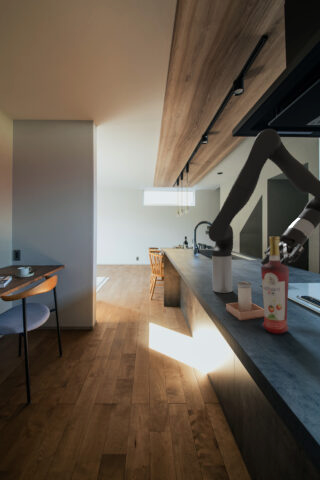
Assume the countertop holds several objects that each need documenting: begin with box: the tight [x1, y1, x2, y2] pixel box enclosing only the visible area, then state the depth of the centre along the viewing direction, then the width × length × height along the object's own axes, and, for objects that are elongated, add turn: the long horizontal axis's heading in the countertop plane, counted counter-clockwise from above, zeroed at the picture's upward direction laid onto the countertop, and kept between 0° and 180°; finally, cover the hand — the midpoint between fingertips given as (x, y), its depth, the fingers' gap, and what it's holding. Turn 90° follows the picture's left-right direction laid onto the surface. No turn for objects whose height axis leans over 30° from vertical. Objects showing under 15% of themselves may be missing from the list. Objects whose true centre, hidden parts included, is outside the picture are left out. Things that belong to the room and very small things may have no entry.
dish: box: [225, 301, 264, 321], centre depth 81 cm, size 10×10×2 cm
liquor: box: [260, 236, 290, 335], centre depth 66 cm, size 7×7×28 cm
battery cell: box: [237, 280, 253, 312], centre depth 80 cm, size 4×4×11 cm
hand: (270, 266), depth 82 cm, fingers open, 8 cm apart
